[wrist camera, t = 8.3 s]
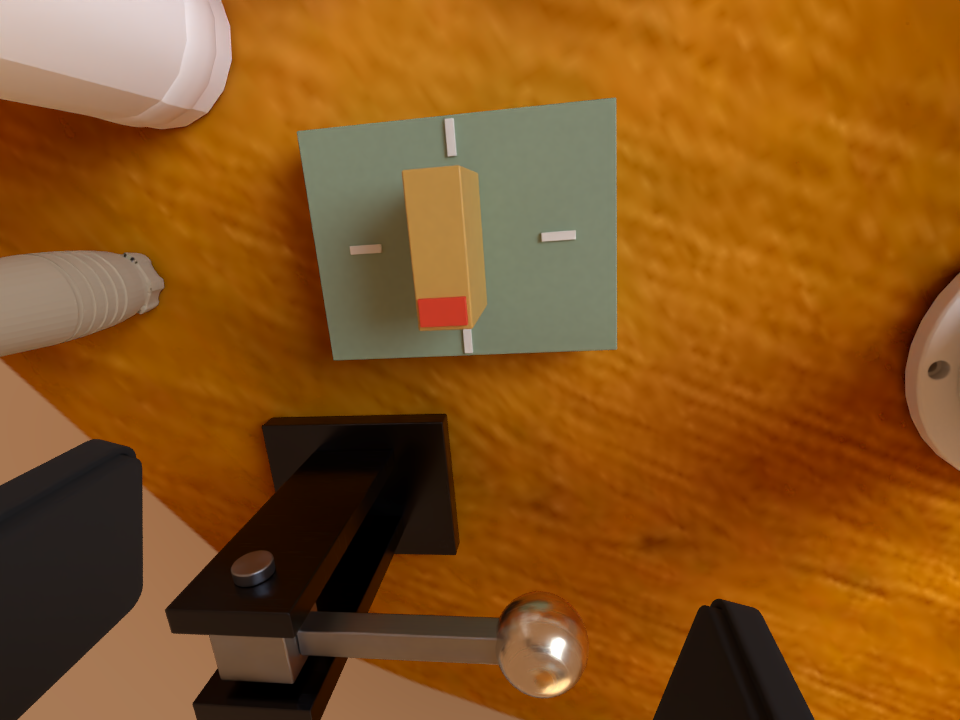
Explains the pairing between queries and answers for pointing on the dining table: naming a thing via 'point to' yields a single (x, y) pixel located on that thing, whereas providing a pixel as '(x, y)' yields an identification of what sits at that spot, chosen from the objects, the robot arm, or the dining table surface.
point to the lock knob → (445, 246)
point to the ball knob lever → (427, 644)
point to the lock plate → (505, 229)
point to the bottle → (116, 58)
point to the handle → (70, 295)
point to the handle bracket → (320, 546)
